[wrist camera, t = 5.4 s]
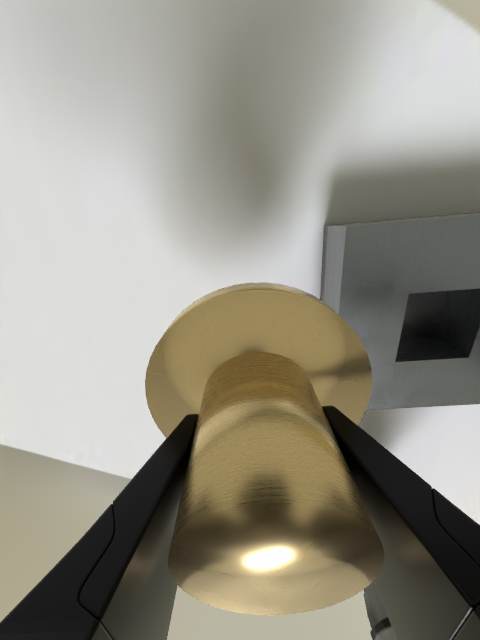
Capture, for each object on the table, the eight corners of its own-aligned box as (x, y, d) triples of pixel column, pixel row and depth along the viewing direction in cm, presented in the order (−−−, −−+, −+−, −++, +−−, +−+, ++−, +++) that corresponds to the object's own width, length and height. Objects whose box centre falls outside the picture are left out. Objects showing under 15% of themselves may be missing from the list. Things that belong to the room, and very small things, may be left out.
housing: (522, 208, 17) (601, 204, 13) (466, 372, 22) (510, 402, 18) (324, 225, 17) (346, 226, 14) (316, 381, 23) (330, 411, 19)
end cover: (342, 262, 11) (622, 372, 3) (329, 408, 15) (442, 646, 6) (155, 276, 11) (-58, 414, 3) (186, 416, 15) (120, 655, 7)
